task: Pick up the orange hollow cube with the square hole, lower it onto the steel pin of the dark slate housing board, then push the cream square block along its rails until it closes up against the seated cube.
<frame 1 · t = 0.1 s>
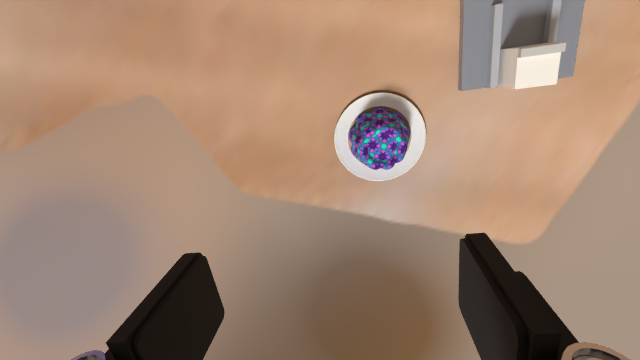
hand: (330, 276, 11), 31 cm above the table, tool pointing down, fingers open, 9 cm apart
cream square block: (528, 65, 32), point 4 cm above the table, slide at 0.0 cm
pudding: (378, 137, 41), on the table
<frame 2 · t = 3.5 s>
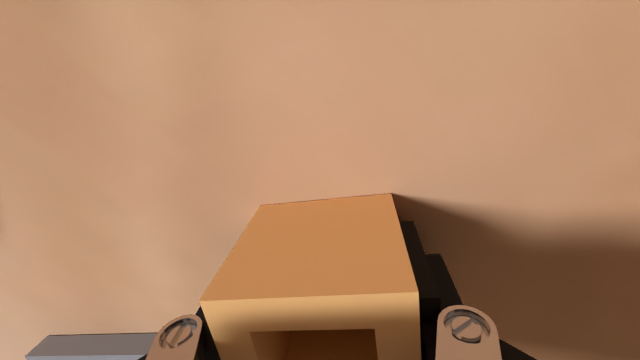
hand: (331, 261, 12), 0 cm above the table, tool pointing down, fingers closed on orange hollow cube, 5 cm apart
orange hollow cube: (332, 254, 12), on the table, touching gripper
when the fingers open (3 cm above the table, at t = 9.0 s): orange hollow cube drops 1 cm, resting on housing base.
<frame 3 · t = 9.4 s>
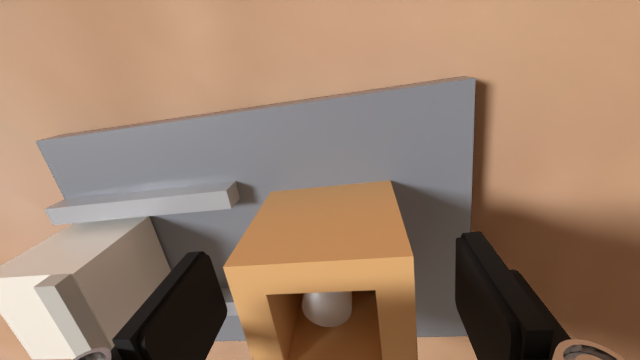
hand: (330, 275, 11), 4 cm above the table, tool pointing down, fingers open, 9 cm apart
orange hollow cube: (336, 237, 13), point 1 cm above the table, touching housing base
cream square block: (88, 287, 13), point 4 cm above the table, slide at 0.0 cm
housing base: (269, 230, 15), on the table
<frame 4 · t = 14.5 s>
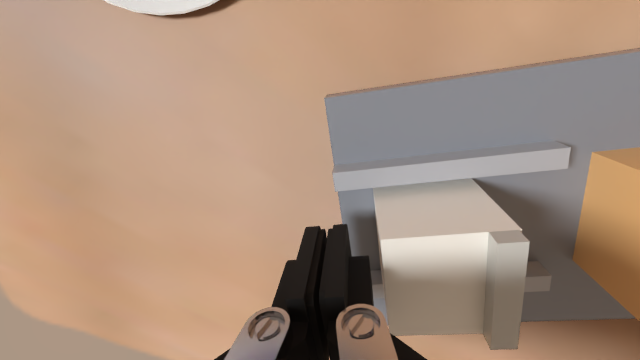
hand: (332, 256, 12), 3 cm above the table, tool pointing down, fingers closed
cream square block: (435, 256, 11), point 4 cm above the table, slide at 1.5 cm, touching gripper
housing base: (540, 200, 14), on the table
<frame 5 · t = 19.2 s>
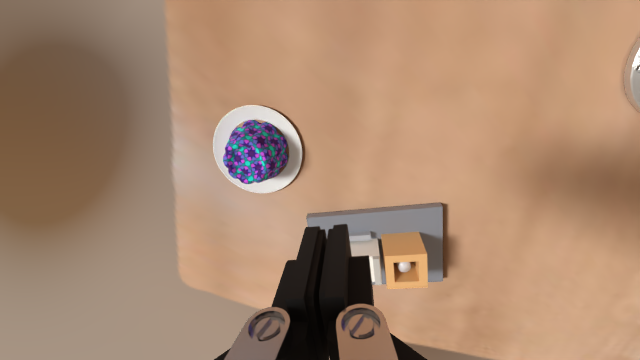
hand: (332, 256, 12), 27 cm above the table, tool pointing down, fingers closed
orange hollow cube: (400, 248, 41), point 1 cm above the table, touching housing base
cream square block: (364, 261, 40), point 4 cm above the table, slide at 5.4 cm
pudding: (259, 149, 40), on the table
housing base: (375, 245, 43), on the table
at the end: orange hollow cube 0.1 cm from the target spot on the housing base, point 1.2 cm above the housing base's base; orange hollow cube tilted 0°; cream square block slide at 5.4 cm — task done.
